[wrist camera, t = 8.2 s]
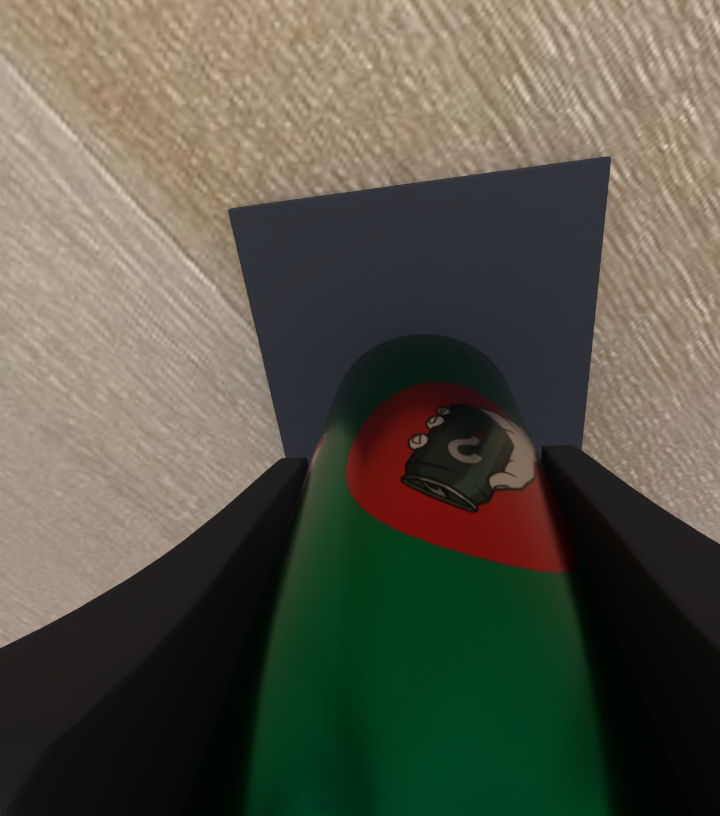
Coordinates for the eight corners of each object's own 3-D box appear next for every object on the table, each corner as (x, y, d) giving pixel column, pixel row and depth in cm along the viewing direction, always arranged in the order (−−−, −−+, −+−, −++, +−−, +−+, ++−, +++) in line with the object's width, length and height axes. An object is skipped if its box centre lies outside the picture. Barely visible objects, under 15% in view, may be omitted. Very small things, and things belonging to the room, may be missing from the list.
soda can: (307, 365, 13) (-136, 1143, 3) (478, 297, 12) (1008, 1367, 1) (376, 498, 15) (280, 1261, 5) (531, 454, 14) (919, 1405, 3)
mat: (569, 524, 17) (573, 533, 16) (306, 530, 18) (304, 538, 18) (605, 156, 12) (612, 156, 11) (233, 208, 13) (226, 209, 13)
